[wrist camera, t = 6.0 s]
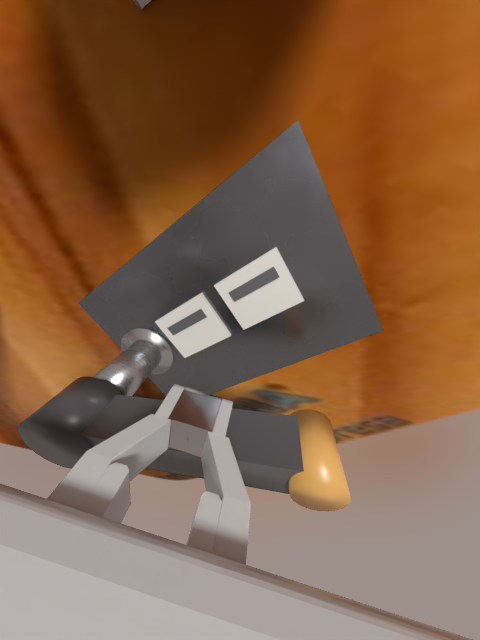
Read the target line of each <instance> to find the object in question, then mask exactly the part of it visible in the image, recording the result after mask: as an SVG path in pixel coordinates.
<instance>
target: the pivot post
mask: <svg viewBox="0 0 480 640" xmlns="http://www.w3.org/2000/svg"><path fill="white" fill-rule="evenodd" d="M121 349H122V353H121V354H119V355H118V356H117V357H116V358H115V359H114V360H112V361H111V362H110V363H109V364H108V365H106V366H105V367H104V368H103V369H102V370H101V371H99V372H98V373H97V374H96V375H95V376H94V377H93V378H97V379H100V380H102V381H105V382H107V383H108V384H110V385H112V386H113V387H114V388H116V389H117V390H118V391H119V392H120V393H121V394H122V395H125V396H133V394H134V393H135V392H136V391H137V390H138V388H139V387H140V386H141V385H142V383H143V382H144V381H145V380H146V379H147V377H148V376H149V375H150V374H161V373H164V372H166V371H167V370H168V369H169V368H170V367H171V365H172V362H173V353H172V350H171V347H170V346H169V344H168V343H167V342H166V340H165V339H164V338H162V337H161V336H160V335H159V334H157V333H155V332H153V331H151V330H148V329H143V328H136V329H132V330H130V331H128V332H127V333H126V334H125V335H124V336H123V338H122V340H121Z"/></svg>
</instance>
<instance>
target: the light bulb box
mask: <svg viewBox="0 0 480 640" xmlns="http://www.w3.org/2000/svg"><path fill="white" fill-rule="evenodd" d="M134 1H135V3H136V4H137V6H138V7H139V9H141V10H142V9H143V8H144V6H145V5H146V4H148V3H149V2H150V1H151V0H134Z"/></svg>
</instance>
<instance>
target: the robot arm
mask: <svg viewBox="0 0 480 640" xmlns="http://www.w3.org/2000/svg"><path fill="white" fill-rule="evenodd" d="M232 406H233V401H230V400H226V399H223V398H220V397H217V396H213V395H210V394H206V393H203V392H199V391H196V390H193V389H190V388H187V387H183V386H180V385H177V384H174V385H173V386H172V388H171V389H170V391H169V393H168V394H167V396H166V397H165V399H164V401H163V402H162V404H161V405H160V407H159V409H158V410H157V412H156V413H155V415H154V414H150V415H148V416H147V417H145V418H143V419H141V420H140V421H138V422H136V423H134V424H133V425H131V426H129V427H127V428H126V429H124V430H122V431H121V432H119V433H117V434H115V435H114V436H112V437H110V438H108V439H107V440H105V441H103V442H101V443H100V444H98V445H96V446H95V447H93V448H91V449H89V450H88V451H86V452H85V454H84V455H83V456H82V457H81V458H80V460H79V461H78V462H77V463H76V464H75V466H74V467H73V468H72V469H71V471H70V472H69V473H68V474H67V475H66V477H65V478H64V479H63V480H62V481H61V483H60V484H59V485H58V486H57V487H56V489H55V490H54V491H53V492H52V493H51V495H50V496H49V497H48V498H47V499H45V498H42V497H39V496H36V495H33V494H30V493H27V492H24V491H21V490H18V489H15V488H12V487H9V486H5V485H2V484H0V640H472V639H469V638H466V637H463V636H460V635H457V634H454V633H451V632H448V631H445V630H442V629H439V628H436V627H432V626H430V625H427V624H424V623H421V622H418V621H414V620H411V619H408V618H405V617H402V616H399V615H396V614H393V613H390V612H387V611H384V610H381V609H378V608H375V607H372V606H369V605H366V604H363V603H360V602H357V601H354V600H351V599H348V598H345V597H342V596H339V595H336V594H332V593H329V592H327V591H324V590H321V589H318V588H315V587H311V586H308V585H305V584H302V583H299V582H296V581H293V580H290V579H287V578H284V577H281V576H278V575H275V574H272V573H269V572H266V571H263V570H260V569H257V568H254V567H251V566H248V565H246V554H247V543H248V530H249V519H250V508H251V503H250V500H249V497H248V494H247V491H246V488H245V485H244V482H243V479H242V476H241V473H240V470H239V467H238V464H237V461H236V458H235V455H234V452H233V449H232V446H231V443H230V440H229V438H228V437H225V436H226V432H227V428H228V423H229V419H230V415H231V410H232ZM168 447H170V448H173V449H177V450H180V451H184V452H187V453H190V454H193V455H196V456H199V457H201V461H202V467H203V473H204V480H205V486H206V492H204V493H203V494H202V495H201V498H200V501H199V505H198V508H197V511H196V514H195V517H194V521H193V524H192V527H191V531H190V534H189V538H188V541H187V545H184V544H181V543H178V542H175V541H172V540H169V539H166V538H163V537H160V536H157V535H154V534H151V533H148V532H145V531H142V530H139V529H136V528H133V527H129V526H126V525H123V524H121V522H122V520H123V518H124V516H125V514H126V512H127V510H128V508H129V506H130V504H131V501H130V484H129V482H130V481H131V480H132V479H133V478H134V477H136V476H137V475H138V474H139V473H140V472H141V471H143V470H144V469H145V468H146V467H147V466H148V465H150V464H151V463H152V462H153V461H154V460H155V459H157V458H158V457H159V456H160V455H161V454H162V453H164V452H165V451H166V450H167V449H168Z"/></svg>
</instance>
